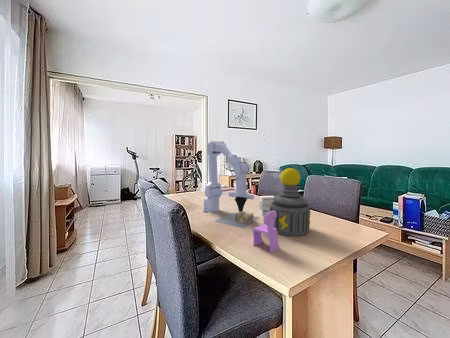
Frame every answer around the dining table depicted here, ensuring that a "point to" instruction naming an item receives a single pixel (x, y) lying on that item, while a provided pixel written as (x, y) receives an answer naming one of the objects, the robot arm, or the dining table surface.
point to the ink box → (265, 204)
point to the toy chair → (267, 231)
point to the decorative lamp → (291, 207)
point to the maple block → (244, 217)
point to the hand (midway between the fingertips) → (240, 211)
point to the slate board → (234, 220)
